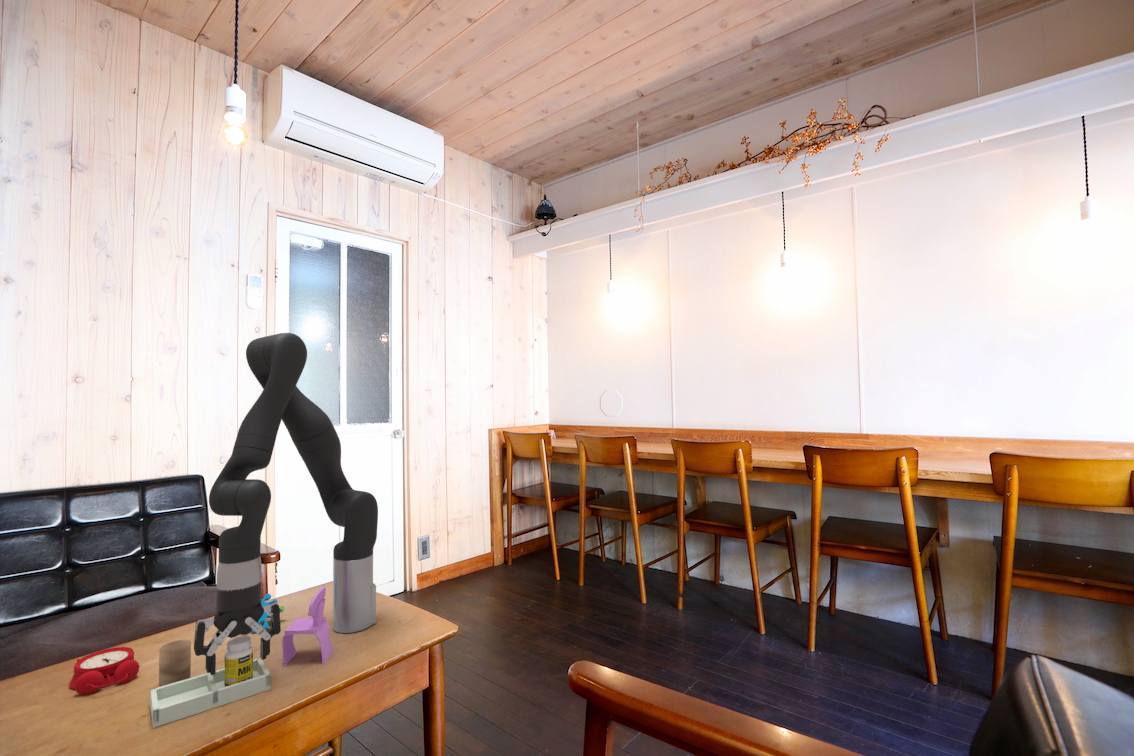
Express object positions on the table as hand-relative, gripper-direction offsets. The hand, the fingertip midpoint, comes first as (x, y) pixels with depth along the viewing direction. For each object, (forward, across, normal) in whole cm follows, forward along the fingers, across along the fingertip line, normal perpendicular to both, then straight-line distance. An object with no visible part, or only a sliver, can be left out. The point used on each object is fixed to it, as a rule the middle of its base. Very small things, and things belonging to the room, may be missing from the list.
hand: (238, 665), depth 103 cm
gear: (+5, -9, -29) cm, 31 cm away
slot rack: (+4, +4, 0) cm, 6 cm away
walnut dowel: (+4, +9, -9) cm, 14 cm away
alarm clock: (+5, +20, -22) cm, 30 cm away
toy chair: (+5, -14, -4) cm, 15 cm away
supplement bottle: (+4, 0, 0) cm, 4 cm away
